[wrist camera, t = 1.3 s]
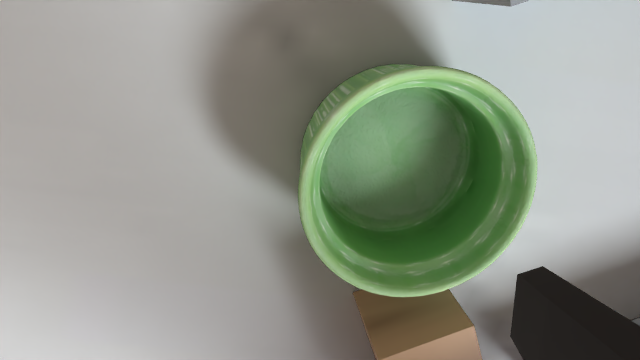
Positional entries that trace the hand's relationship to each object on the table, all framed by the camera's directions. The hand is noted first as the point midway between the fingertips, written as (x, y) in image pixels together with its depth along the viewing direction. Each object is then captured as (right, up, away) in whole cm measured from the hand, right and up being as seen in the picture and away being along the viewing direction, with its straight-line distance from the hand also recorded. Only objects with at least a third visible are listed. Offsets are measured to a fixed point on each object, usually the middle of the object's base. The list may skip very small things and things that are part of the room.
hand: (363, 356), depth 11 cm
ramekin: (+2, +5, +13) cm, 14 cm away
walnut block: (+3, -4, +16) cm, 16 cm away
